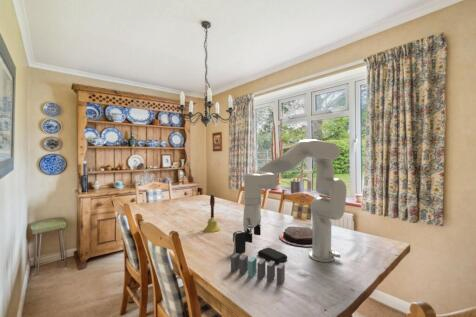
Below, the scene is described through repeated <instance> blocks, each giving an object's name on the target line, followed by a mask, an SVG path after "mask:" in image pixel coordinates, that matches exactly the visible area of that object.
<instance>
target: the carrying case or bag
mask: <svg viewBox="0 0 476 317" xmlns="http://www.w3.org/2000/svg"><path fill="white" fill-rule="evenodd" d="M257 255H258V256H259V257H261V259H266V261H268V262H270V261H275V265H279V264H280V263H284V262H285V261H286V260H288V255H286V254H285V253H284V252H281V251H279V250H277V249H274V248H271V247H265V248H262V249H260V250H259V251H258V252H257Z"/></svg>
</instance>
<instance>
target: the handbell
mask: <svg viewBox="0 0 476 317" xmlns="http://www.w3.org/2000/svg"><path fill="white" fill-rule="evenodd" d="M215 202H216V201H215V195H214V194H211V195H210V198H209V206H210V218H208V220H207V225H206V226H205V228H204V229H203V231H204V232H205V233H209V234H211V233H212V234H213V233H218V232H221V231H222V229H221V227H219V226H218V221H217V219H216V218H215V211H214V210H215V209H214V208H215V205H216V203H215Z"/></svg>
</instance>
